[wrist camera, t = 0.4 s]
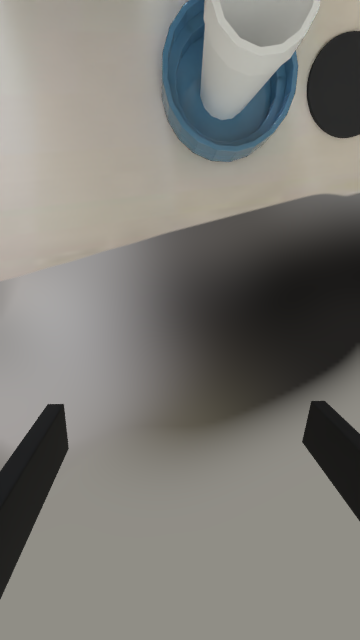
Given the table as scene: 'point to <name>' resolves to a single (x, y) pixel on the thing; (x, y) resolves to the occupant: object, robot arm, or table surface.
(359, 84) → the mat
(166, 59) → the bowl
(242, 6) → the foam cup
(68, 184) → the table surface
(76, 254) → the table surface
